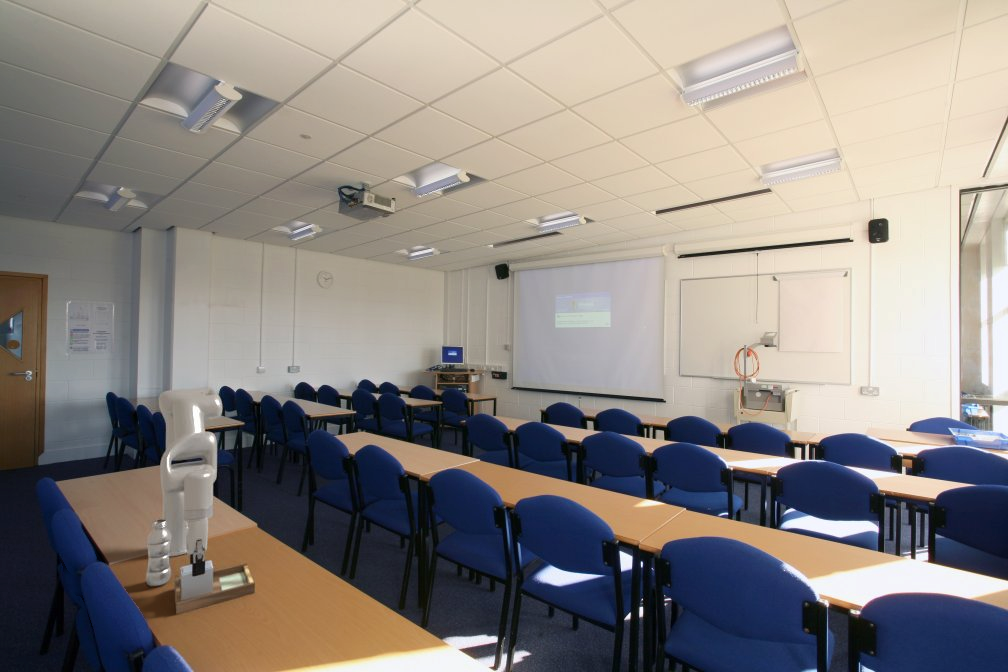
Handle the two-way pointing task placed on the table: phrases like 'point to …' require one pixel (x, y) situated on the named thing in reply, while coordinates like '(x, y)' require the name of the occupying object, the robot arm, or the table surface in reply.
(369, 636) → the table surface
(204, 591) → the grey block
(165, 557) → the plastic bottle
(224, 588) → the bay
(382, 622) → the table surface
